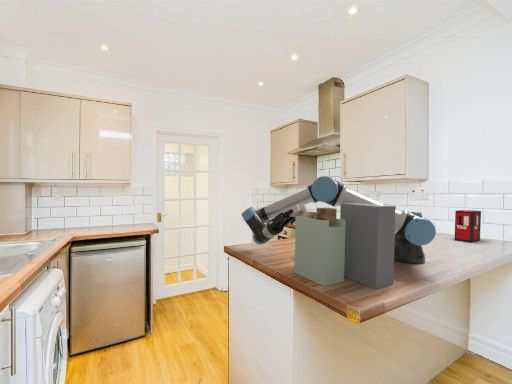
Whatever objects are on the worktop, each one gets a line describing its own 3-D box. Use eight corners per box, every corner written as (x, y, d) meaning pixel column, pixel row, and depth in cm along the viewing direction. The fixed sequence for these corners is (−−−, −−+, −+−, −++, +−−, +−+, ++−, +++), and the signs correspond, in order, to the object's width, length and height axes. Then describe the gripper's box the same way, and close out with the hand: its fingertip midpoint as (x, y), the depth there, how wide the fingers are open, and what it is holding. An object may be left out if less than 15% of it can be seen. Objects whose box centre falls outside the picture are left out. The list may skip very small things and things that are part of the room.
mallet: (283, 215, 112) (284, 204, 112) (292, 214, 115) (292, 203, 115) (326, 223, 91) (326, 209, 91) (336, 222, 93) (336, 208, 93)
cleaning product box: (463, 238, 181) (464, 209, 181) (479, 240, 174) (481, 211, 173) (454, 240, 172) (455, 210, 171) (471, 243, 164) (472, 212, 164)
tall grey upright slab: (338, 274, 100) (340, 203, 100) (355, 270, 106) (357, 202, 105) (376, 289, 87) (378, 206, 86) (393, 283, 92) (395, 205, 91)
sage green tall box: (294, 272, 102) (295, 216, 101) (313, 268, 107) (314, 215, 106) (324, 286, 88) (325, 221, 88) (343, 281, 93) (345, 219, 93)
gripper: (288, 234, 126) (319, 214, 108) (261, 236, 118) (289, 216, 100) (284, 220, 129) (313, 199, 111) (257, 221, 121) (283, 199, 103)
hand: (301, 207), depth 106 cm, fingers closed on mallet, 3 cm apart
